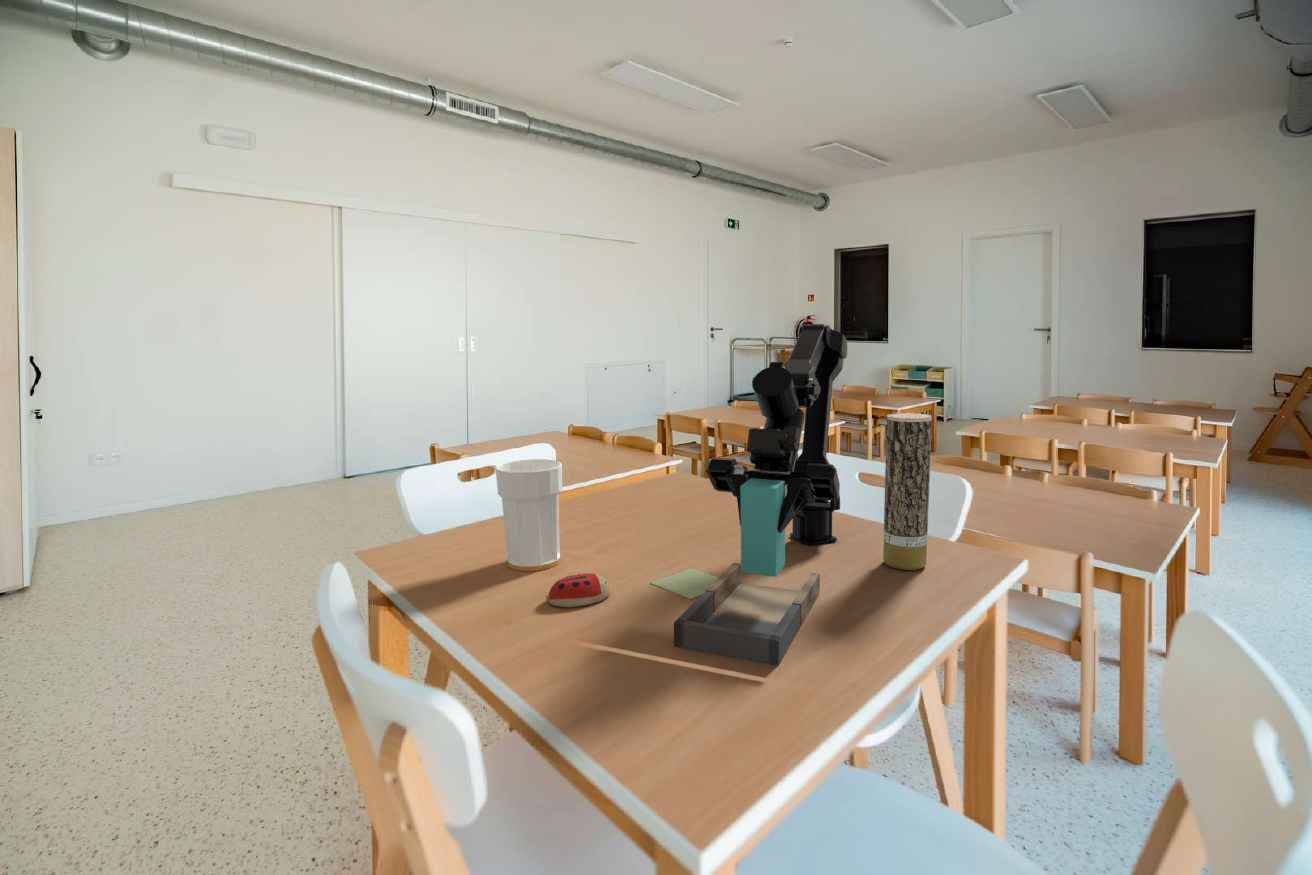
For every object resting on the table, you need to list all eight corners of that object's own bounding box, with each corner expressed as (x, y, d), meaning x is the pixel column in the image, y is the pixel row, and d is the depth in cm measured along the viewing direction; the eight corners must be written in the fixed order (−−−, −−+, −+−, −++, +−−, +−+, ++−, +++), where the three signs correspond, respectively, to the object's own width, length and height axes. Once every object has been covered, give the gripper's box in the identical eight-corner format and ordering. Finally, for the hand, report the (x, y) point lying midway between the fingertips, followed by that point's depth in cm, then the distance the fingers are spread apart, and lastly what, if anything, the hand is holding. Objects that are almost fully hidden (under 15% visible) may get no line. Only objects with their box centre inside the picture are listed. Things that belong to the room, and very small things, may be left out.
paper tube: (927, 560, 115) (933, 413, 111) (924, 574, 109) (930, 419, 105) (885, 555, 118) (889, 412, 114) (880, 568, 112) (884, 418, 108)
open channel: (733, 584, 107) (733, 562, 106) (819, 596, 101) (819, 573, 100) (706, 613, 96) (706, 590, 95) (800, 629, 90) (801, 604, 90)
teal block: (751, 560, 100) (751, 478, 98) (785, 564, 98) (785, 480, 96) (741, 572, 96) (740, 486, 94) (775, 576, 94) (775, 488, 92)
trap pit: (705, 614, 95) (705, 591, 95) (800, 630, 90) (800, 605, 89) (674, 648, 86) (673, 622, 85) (778, 668, 80) (778, 640, 79)
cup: (580, 560, 119) (575, 463, 117) (527, 578, 111) (521, 475, 108) (540, 547, 127) (535, 456, 124) (488, 563, 119) (481, 466, 116)
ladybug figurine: (617, 601, 102) (617, 578, 101) (554, 615, 97) (553, 591, 97) (600, 586, 108) (599, 565, 107) (540, 599, 103) (539, 577, 103)
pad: (691, 571, 113) (691, 568, 113) (731, 585, 106) (731, 582, 106) (650, 585, 107) (650, 582, 107) (691, 601, 100) (691, 598, 100)
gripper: (709, 404, 101) (682, 494, 93) (837, 407, 93) (819, 505, 85) (727, 447, 109) (703, 533, 101) (846, 453, 101) (831, 547, 93)
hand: (760, 529), depth 95 cm, fingers closed on teal block, 5 cm apart
